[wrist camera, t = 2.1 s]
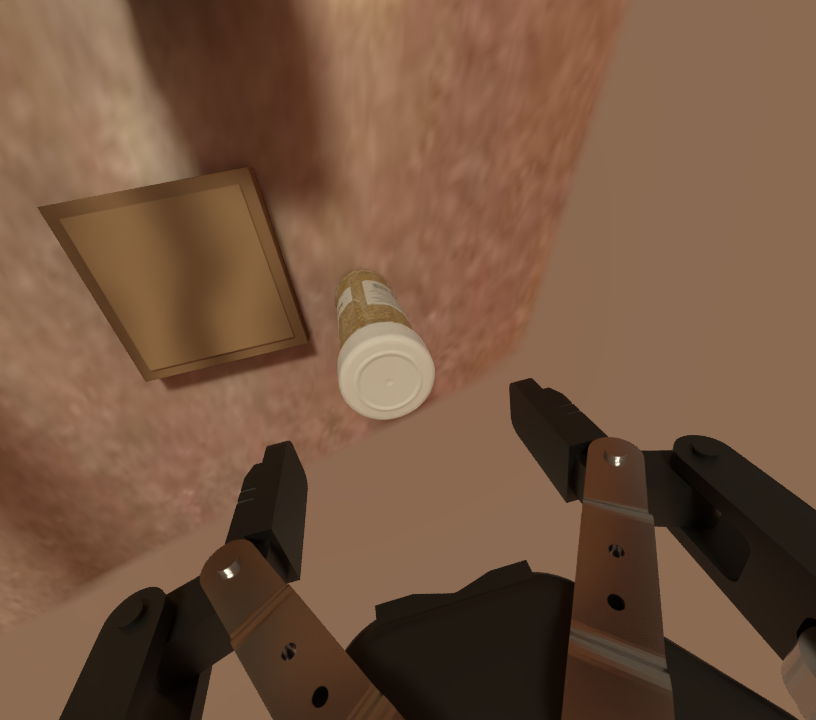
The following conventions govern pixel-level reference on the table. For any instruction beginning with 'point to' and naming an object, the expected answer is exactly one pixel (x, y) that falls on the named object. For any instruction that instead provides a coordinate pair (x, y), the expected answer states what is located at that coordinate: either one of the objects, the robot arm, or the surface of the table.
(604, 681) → the robot arm
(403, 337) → the sprinkles bottle
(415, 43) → the table surface
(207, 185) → the brown rectangular tray
